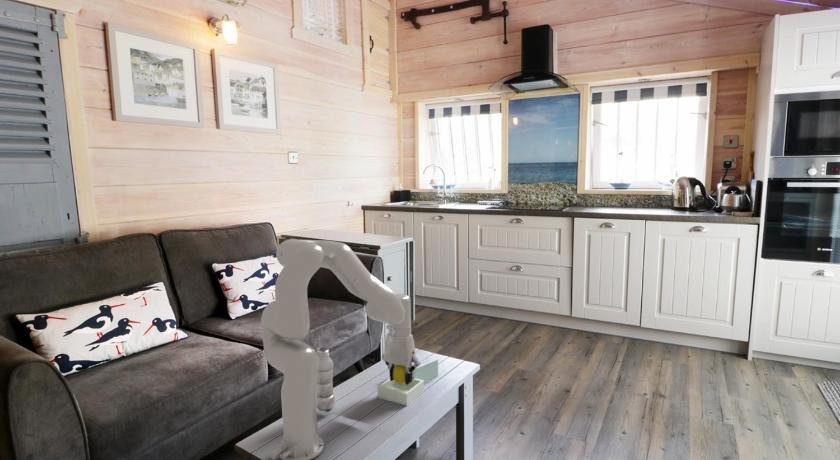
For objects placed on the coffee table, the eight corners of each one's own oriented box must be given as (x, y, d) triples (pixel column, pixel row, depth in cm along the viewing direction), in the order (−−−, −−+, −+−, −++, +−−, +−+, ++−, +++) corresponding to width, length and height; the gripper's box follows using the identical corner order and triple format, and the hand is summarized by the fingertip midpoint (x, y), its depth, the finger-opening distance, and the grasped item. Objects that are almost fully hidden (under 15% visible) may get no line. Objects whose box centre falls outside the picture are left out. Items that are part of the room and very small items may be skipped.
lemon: (410, 381, 159) (409, 359, 158) (408, 388, 153) (407, 366, 153) (394, 381, 159) (393, 359, 159) (392, 388, 154) (391, 365, 153)
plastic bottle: (338, 404, 151) (336, 346, 148) (329, 414, 144) (327, 354, 142) (321, 402, 152) (319, 345, 150) (311, 412, 146) (308, 352, 144)
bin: (406, 405, 149) (406, 394, 149) (378, 397, 155) (377, 386, 154) (424, 391, 159) (424, 380, 159) (396, 384, 165) (396, 373, 164)
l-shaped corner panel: (438, 378, 169) (437, 359, 168) (414, 389, 161) (414, 369, 160) (416, 369, 178) (415, 351, 177) (392, 379, 170) (392, 359, 169)
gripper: (373, 330, 155) (374, 380, 157) (416, 338, 147) (416, 391, 149) (385, 323, 162) (386, 372, 164) (427, 331, 153) (427, 382, 155)
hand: (400, 380), depth 156 cm, fingers closed on lemon, 5 cm apart
